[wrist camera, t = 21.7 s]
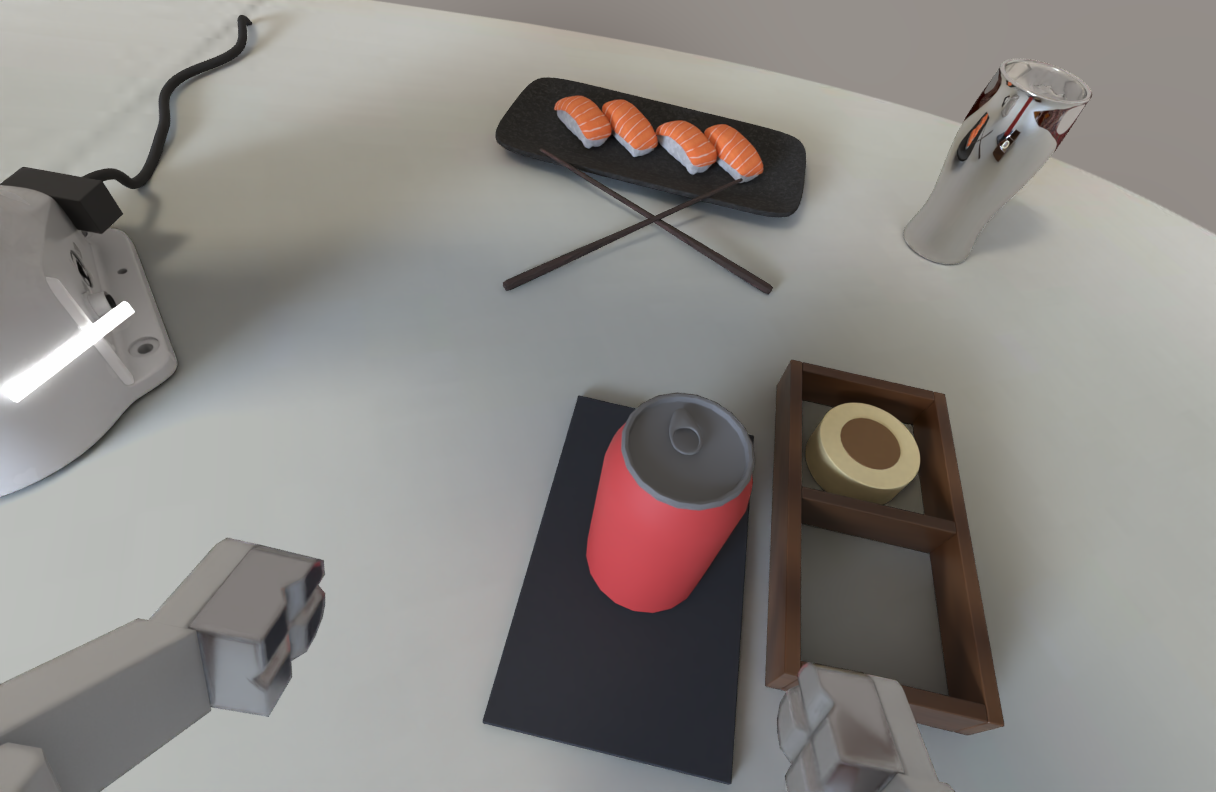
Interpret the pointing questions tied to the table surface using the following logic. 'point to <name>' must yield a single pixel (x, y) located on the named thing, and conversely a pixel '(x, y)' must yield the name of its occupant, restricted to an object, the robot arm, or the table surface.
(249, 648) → the robot arm
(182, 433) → the table surface
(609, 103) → the sushi plate
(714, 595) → the mat
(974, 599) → the tray
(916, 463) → the tape roll
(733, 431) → the beer can
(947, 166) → the beer glass
